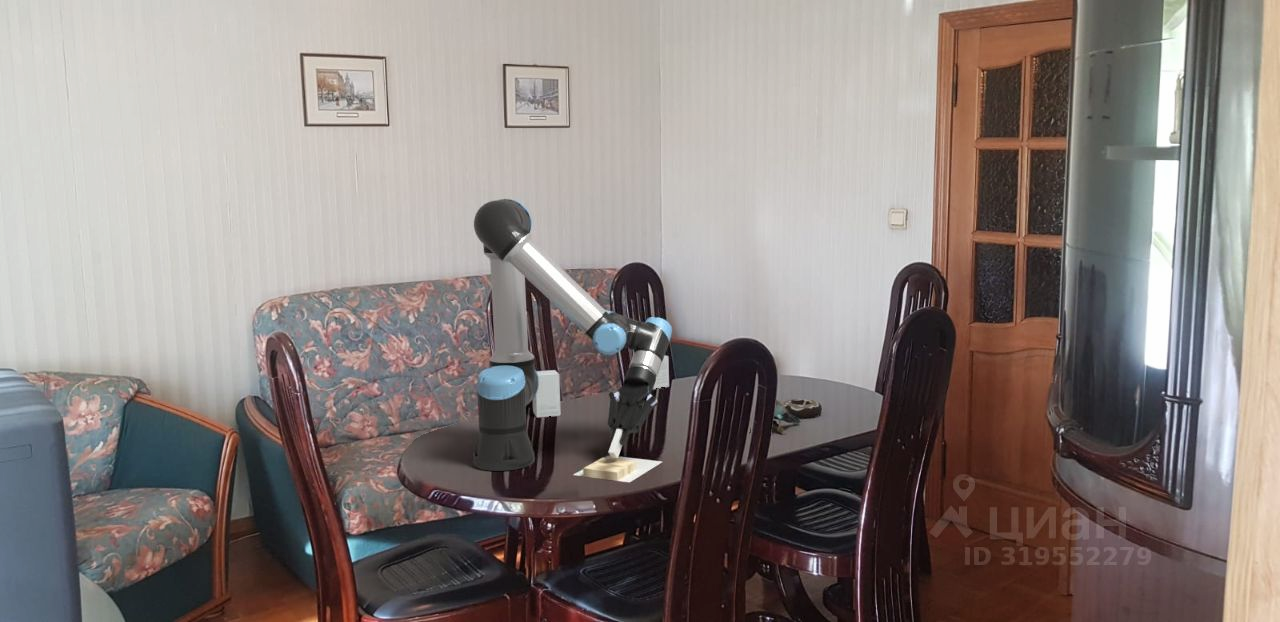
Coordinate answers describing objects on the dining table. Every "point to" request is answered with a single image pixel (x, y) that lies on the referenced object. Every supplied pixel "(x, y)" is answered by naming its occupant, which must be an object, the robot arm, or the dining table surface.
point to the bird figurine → (783, 417)
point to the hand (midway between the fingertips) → (613, 455)
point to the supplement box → (547, 395)
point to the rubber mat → (641, 469)
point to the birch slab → (610, 469)
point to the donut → (803, 408)
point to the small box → (663, 374)
